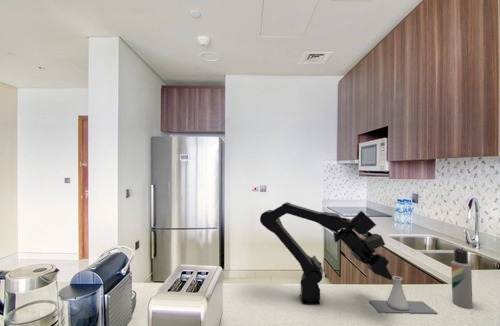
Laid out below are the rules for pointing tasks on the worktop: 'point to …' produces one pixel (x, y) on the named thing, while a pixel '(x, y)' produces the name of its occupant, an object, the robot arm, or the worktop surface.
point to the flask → (397, 295)
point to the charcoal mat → (414, 308)
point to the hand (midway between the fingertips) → (384, 273)
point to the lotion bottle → (461, 279)
